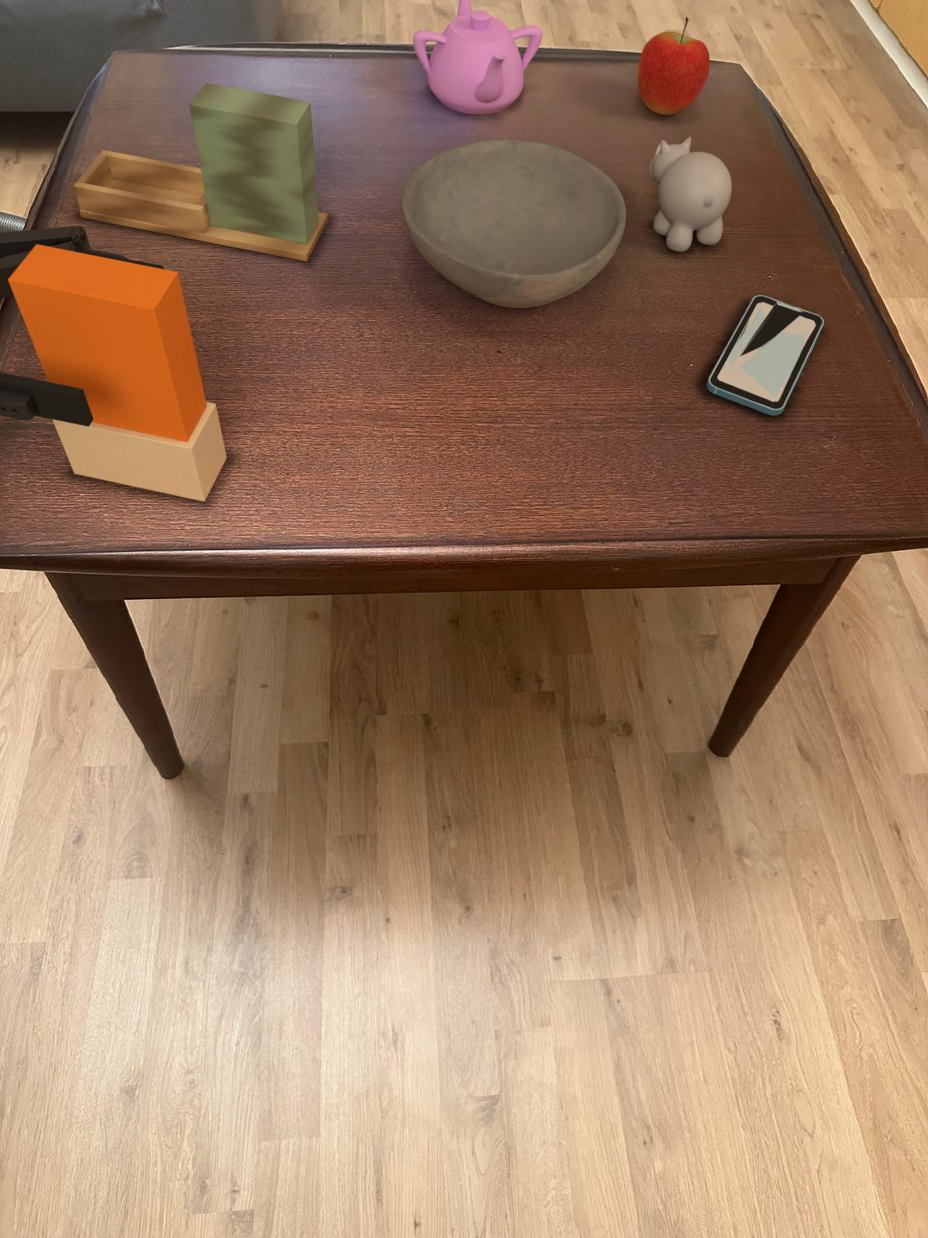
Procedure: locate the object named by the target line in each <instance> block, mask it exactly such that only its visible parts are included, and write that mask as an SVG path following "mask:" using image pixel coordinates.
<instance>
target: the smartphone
mask: <svg viewBox="0 0 928 1238" xmlns="http://www.w3.org/2000/svg"><path fill="white" fill-rule="evenodd" d="M824 325H825V319H824V318H823V317H822V315H820V314H819V313H815V312H813V311H810V310H807V309H804V308H801V307H799V306H795V305H793V304H790V303H787V302H784V301H781V300H778V299H775V298H773V297H770V296H767V295H764V294H757V295H754V296H753V297H752V298H751V300H750V302H749V304H748V305H747V307H746V308H745V311H744V313H743V314H742V316H741V317H740V319H739V321H738V323H737V325H736V327H735V329H734V331H733V332H732V334H731V335H730V338H729V339H728V342H727V343H726V345H725V347H724V349H723V350H722V352H721V354H720V356H719V358H718V360H717V362H716V363H715V365H714V367H713V368H712V371H711V372H710V374H709V376H708V378H707V381H706V384H705V385H706V386H705V387H706V389H707V390H708V391H709V392H710V393H712V394H714V395H717V396H719V397H722V398H724V399H726V400H730V401H732V402H734V403H737V404H740V405H742V406H745V407H748V408H750V409H753V410H755V411H758V412H760V413H763V414H765V415H768V416H772V417H773V416H779V415H782V413H783V412H784V409H785V408H786V406H787V403H788V402H789V399H790V397H791V395H792V394H793V391H794V389H795V387H796V385H797V382H798V380H799V378H800V376H801V374H802V372H803V370H804V368H805V366H806V363H807V361H808V360H809V357H810V355H812V352H813V350H814V349H815V346H816V342H817V340H818V339H819V336H820V334H821V332H822V330H823V328H824Z"/></svg>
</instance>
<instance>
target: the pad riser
mask: <svg viewBox="0 0 928 1238" xmlns="http://www.w3.org/2000/svg"><path fill="white" fill-rule="evenodd" d="M206 404H207V407H206V409H205V411H204V413H203V415H202V416H201V418H200V420H199V422H198V424H197V426H196V427H195V429H194V431H193V433H192V435H191V437H190V438H189V440H188V442H184V441H179V440H175V439H170V438H165V437H160V436H156V435H151V434H146V433H141V432H137V431H132V430H127V429H122V428H118V427H113V426H108V425H103V424H99V423H94V422H92V423H91V424H90V426H89V427H87V426H82V425H77V424H73V423H68V422H63V421H58V420H53V419H51V420H52V422H53V425H54V427H55V429H56V433H57V435H58V437H59V439H60V442H61V444H62V447H63V449H64V452H65V454H66V456H67V459H68V461H69V464H70V467H71V470H72V472H73V474H74V475H79V476H83V477H86V478H87V477H88V478H93V479H97V480H101V481H106V482H110V483H117V484H121V485H125V486H130V487H135V488H138V489H139V488H140V489H143V490H149V491H152V492H158V493H163V494H167V495H171V496H177V497H181V498H186V499H191V500H195V501H199V502H205V501H206V500H207V498H208V495H209V494H210V492H211V490H212V488H213V486H214V484H215V482H216V480H217V478H218V477H219V474H220V472H221V470H222V468H223V466H224V464H225V463H226V460H227V452H226V448H225V443H224V438H223V432H222V429H221V423H220V418H219V414H218V408H217V404H216V403H214V402H211V401H209V402H208V401H206Z"/></svg>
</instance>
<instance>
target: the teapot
mask: <svg viewBox="0 0 928 1238" xmlns="http://www.w3.org/2000/svg"><path fill="white" fill-rule="evenodd" d="M526 37H528V38H529V41H528V44H527V47H526V48H525V49H526V50H525V52H524V54H523V56H521V52H520V51H519V47H518V45H517V43H516V41H515V40H517V39H522V38H526ZM542 39H543V30H542V28H541V27H540V26H538V25H528V26H523V27H519V28H516V29H513V30H510V29H509V27H508V25H507V24H506V23H504V22H503V21H502V20H500V19H499V18H497V17H495V16H492V15H491V14H490V13H489V12H488V11H486V10H481V9H476V10H472V2H471V0H459V1H458V7H457V12H456V16H455V18H454V19H452V20H451V21H450V22H449V23H448V24H447V26H446V27H445V28H444V30H443V31H442V33H439V32H436V31H431V30H427V29H420V30H417V31H416V32H415V33H414V34H413V36H412V45H413V49H414V52H415V54H416V56H417V59H418V61H419V62H420V64H421V67H422V68H423V69H424V71H425V72H426V81H427V84H428V87H429V88H430V89H429V90H431V92H432V93H433V95H434V96H435V97H436V99H437V100H438V101H439V102H440V103H441V104H442V105H444V106H445V107H446V108H449V109H451V110H452V111H456V112H459V113H462V114H467V115H490V114H496V113H499V112H501V111H504V110H505V109H506V108H508V107H509V106H511V105H512V104H513V103H514V102H515V101H516V100H517V99H518V97H520V95H521V93H522V91H523V89H524V83H525V82H524V79H525V78H524V77H525V75H524V71H525V70H526V69H527V67H528V65H529V64H530V62H531V61H532V60H533V58H534V57H535V55H536V53H537V52H538V50H539V48H540V46H541V43H542ZM427 42H435V45H434V47H433V49H432V51H431V54H430V58H428V53H427V50H426V44H427Z"/></svg>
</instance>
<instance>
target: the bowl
mask: <svg viewBox="0 0 928 1238" xmlns="http://www.w3.org/2000/svg"><path fill="white" fill-rule="evenodd" d="M400 203H401V204H400V208H401V213H402V218H403V222H404V224H405V227H406V230H407V232H408V235H409V236H410V239H411V241H412V243H413V245H414V247H415V248H416V250H417V252H419V254H420V256H421V257H422V258H423V259H424V260H425V262H427V264H429V265H430V267H432V268H433V270H435V271H436V272H438V273H439V274H440V275H441V276H442V277H444V278H445V279H446V280H447V281H449V282H451V283H452V285H455V286H456V287H457V288H460V289H462V290H463V291H465V292H467V293H468V294H470V295H472V296H475V297H477V298H479V299H481V300H483V301H485V302H487V303H489V304H492V305H495V306H496V307H503V308H510V309H530V308H535V307H537V308H538V307H542V306H545V305H550V304H552V303H554V302H555V301H559V300H561V299H563V298H566V297H568V296H570V295H572V294H574V293H576V292H578V291H579V290H581V289H582V288H583V287H585V286H586V285H587V284H588V283H590V282H591V281H592V280H593V279H594V278H595V277H597V275H599V273H601V271H602V270H604V268H605V267H606V266H607V264H608V263H609V262H610V260H611V259H612V258H613V256H614V255H615V253H616V250H617V249H618V247H619V245H620V243H621V242H622V241H621V240H622V239H623V235H624V232H625V229H626V228H625V227H626V221H627V209H626V204H625V199H624V197H623V195H622V193H621V191H620V189H619V188H618V186H617V185H616V183H615V182H614V181H613V180H612V179H611V177H610V176H608V174H607V173H605V172H604V171H603V170H601V169H600V168H599V167H597V166H595V165H594V164H593V163H591V162H589V161H588V160H586V159H584V158H582V157H580V156H578V155H577V154H575V153H573V152H571V151H569V150H567V149H564V148H562V147H559V146H555V145H552V144H548V143H544V142H537V141H528V140H521V139H487V140H479V141H474V142H470V143H466V144H461V145H459V146H455V147H452V148H450V149H447V150H444V151H442V152H440V153H438V154H436V155H434V156H433V157H431V158H429V159H428V160H426V161H424V162H423V163H421V164H420V165H419V166H418V168H416V169H415V171H413V172H412V174H411V175H410V176H409V178H408V179H407V181H406V182H405V184H404V187H403V190H402V193H401V199H400Z"/></svg>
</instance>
